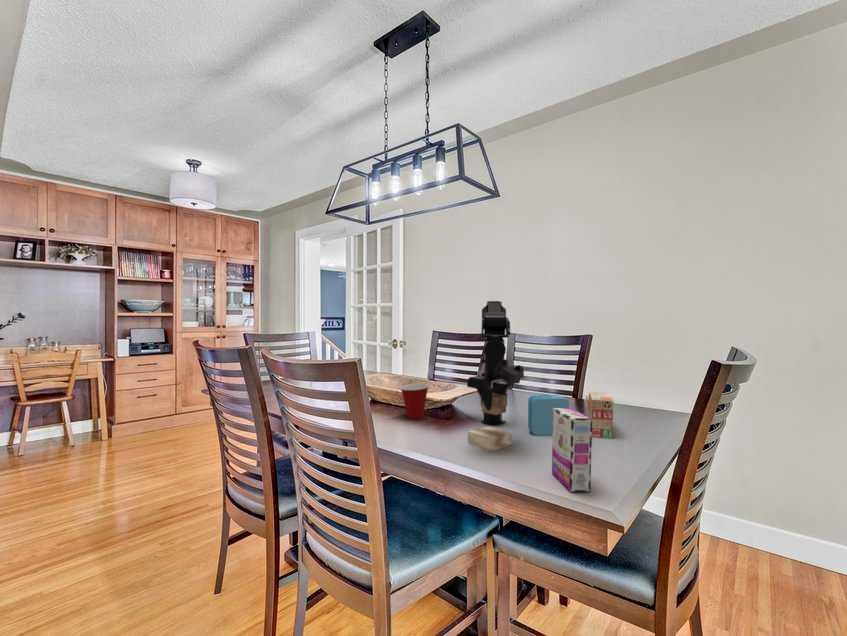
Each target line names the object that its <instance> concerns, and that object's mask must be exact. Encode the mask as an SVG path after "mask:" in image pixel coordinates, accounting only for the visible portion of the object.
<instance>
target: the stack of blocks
mask: <svg viewBox="0 0 847 636" xmlns="http://www.w3.org/2000/svg"><path fill="white" fill-rule="evenodd" d="M585 401H586V402H585V404H586V416H587V417H589V418H591V419H592V438H598V439H608V440H609V439H611V440H612V439H613V420H614V400H613V398H612V396H611V395H610V394H609V392H595V391H589V392H588V395H586V398H585Z"/></svg>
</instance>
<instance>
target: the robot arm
mask: <svg viewBox="0 0 847 636" xmlns="http://www.w3.org/2000/svg"><path fill="white" fill-rule="evenodd" d="M502 303H503V301H500V300H489V301H486V305H485V306H484V307H483V308H482V309H481V336H480V337H481V338H485V340H484V358H482V359H481V363H483V364H484V372H481V375H480V376H479V375H476V376H475V375H474V376H469V378H467V380H466V383H467V384H466V387H467V388H471V389H476V391H477V392H478V395H479V396H480V403H481V404H480V406H481V407H482V400H483V403H484V405H485V407H486V409H487V410H490V409H491V401H492V393H496V394H501V395H506V407H507V406H508V393H507V392H508V390H509V389H510V388H511V387H513V386H514V385H515V384H516V385H517V384H520V382H521V379H522V378H525V375H524V374H525V371H524V367H523V366H522V365H520V364H519V365H515V367H514V366H510V365H509V361H508V359H505V354H506V345H505V340H504V339H505V338H509V335H510V336H511V321H510V320H509V318H508V317H507V308H505V307H504V306H503V305H502ZM480 422H481V423H482V424H488V425H490V426H498V424H499V425H502V424H505V423H506V420H503V413H502V414H498V415H493V414H489V413H484V412H483V419H481V420H480Z"/></svg>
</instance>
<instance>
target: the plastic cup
mask: <svg viewBox="0 0 847 636" xmlns="http://www.w3.org/2000/svg"><path fill="white" fill-rule="evenodd" d="M429 386H430V385H429V384H427V383H410V384H405V385H401V386H400V387H399V388H400V390H401V394H402V398H403V403H404V408H405V412H406V418H407V419H409V420H421V419H422V418H423V417H424V414H425V413H424V412H425V407H426V401H427V394H428V389H429Z"/></svg>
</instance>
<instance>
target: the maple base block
mask: <svg viewBox="0 0 847 636" xmlns="http://www.w3.org/2000/svg"><path fill="white" fill-rule="evenodd" d="M468 443H469V444H468ZM467 444H468V445H470V446H473V445H474V447H476V446H477V447H476V448H479V447H480V448H479V449H481V448H482V450H484V449H485V451H487V450H488V451H487V452H489V451H490V452H493V451H492V450H494V451H496V450H495V449H497V450H500V449H499V448H501V449H503V448H502V447H504V448H506V447H505V446H508V447H510V446H509V445H511V446H512V432H509V431H506V430H504V429H503V430H502V429H499V428H496V427H494V426H491V425H490V426H489V425H488V426H485V427H480V428H477V429H476V428H475V429H472V430H468V431H467Z"/></svg>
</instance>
